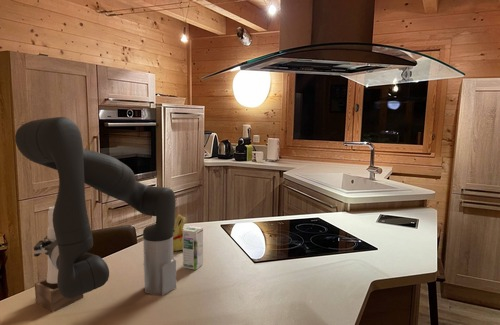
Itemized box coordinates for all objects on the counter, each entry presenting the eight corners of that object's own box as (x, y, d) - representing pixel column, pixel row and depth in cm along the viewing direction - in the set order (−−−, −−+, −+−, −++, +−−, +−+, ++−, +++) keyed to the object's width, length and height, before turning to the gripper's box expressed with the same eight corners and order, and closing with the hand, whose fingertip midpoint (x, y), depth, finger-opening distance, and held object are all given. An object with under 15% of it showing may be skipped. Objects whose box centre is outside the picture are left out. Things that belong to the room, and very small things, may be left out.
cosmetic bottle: (47, 285, 101) (42, 210, 98) (45, 278, 106) (39, 206, 103) (71, 280, 105) (66, 207, 102) (67, 273, 109) (63, 203, 107)
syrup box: (182, 268, 130) (181, 229, 128) (190, 261, 135) (190, 225, 133) (196, 270, 128) (195, 231, 126) (203, 264, 133) (203, 227, 132)
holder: (83, 297, 108) (82, 279, 107) (53, 311, 100) (52, 291, 99) (65, 289, 113) (64, 271, 112) (35, 302, 105) (34, 283, 104)
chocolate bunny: (164, 249, 148) (163, 214, 146) (190, 245, 152) (189, 211, 150) (168, 255, 142) (167, 218, 140) (194, 251, 146) (194, 215, 144)
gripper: (94, 235, 97) (79, 221, 110) (35, 247, 88) (26, 230, 101) (96, 261, 98) (80, 244, 111) (37, 275, 89) (28, 255, 102)
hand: (54, 237), depth 106 cm, fingers closed on cosmetic bottle, 3 cm apart
